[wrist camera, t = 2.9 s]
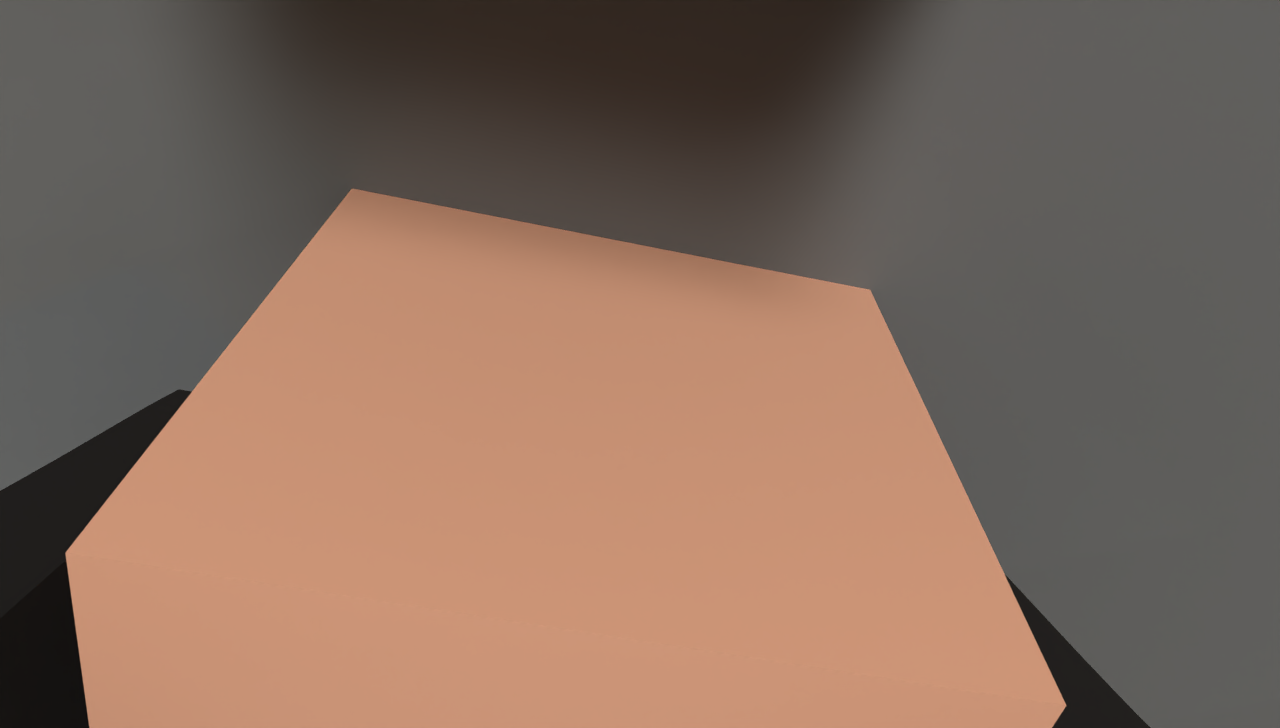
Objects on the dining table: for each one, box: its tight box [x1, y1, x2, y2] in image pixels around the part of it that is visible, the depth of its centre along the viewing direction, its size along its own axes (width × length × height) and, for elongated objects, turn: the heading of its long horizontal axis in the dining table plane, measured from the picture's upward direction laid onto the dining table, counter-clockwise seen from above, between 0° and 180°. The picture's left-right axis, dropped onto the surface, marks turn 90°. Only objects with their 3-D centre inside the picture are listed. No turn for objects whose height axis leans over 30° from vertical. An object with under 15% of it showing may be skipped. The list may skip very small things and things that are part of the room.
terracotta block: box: [65, 189, 1066, 728], centre depth 8 cm, size 5×5×5 cm
